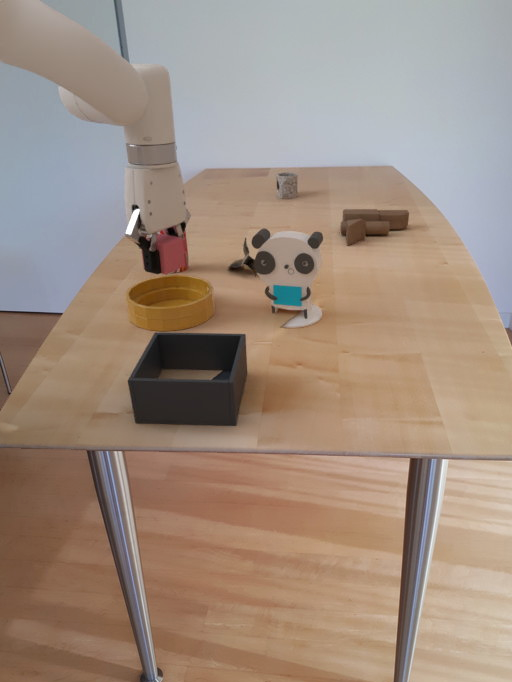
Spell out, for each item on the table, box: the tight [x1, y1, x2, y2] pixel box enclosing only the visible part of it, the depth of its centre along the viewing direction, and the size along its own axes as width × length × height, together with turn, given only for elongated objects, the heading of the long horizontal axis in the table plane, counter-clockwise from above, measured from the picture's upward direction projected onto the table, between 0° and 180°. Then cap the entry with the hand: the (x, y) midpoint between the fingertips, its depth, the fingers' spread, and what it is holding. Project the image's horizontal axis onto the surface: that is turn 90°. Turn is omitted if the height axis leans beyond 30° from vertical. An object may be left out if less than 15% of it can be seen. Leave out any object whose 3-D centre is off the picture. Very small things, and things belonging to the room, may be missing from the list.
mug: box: [276, 171, 299, 199], centre depth 174 cm, size 10×7×7 cm
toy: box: [140, 234, 185, 276], centre depth 93 cm, size 5×5×5 cm
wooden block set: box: [340, 208, 410, 247], centre depth 138 cm, size 17×6×18 cm
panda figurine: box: [251, 228, 324, 329], centre depth 95 cm, size 12×11×15 cm
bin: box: [127, 331, 248, 427], centre depth 74 cm, size 13×13×7 cm
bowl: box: [124, 274, 216, 332], centre depth 98 cm, size 15×15×5 cm
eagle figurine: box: [227, 236, 258, 277], centre depth 117 cm, size 8×7×9 cm
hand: (164, 266), depth 94 cm, fingers closed on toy, 5 cm apart
